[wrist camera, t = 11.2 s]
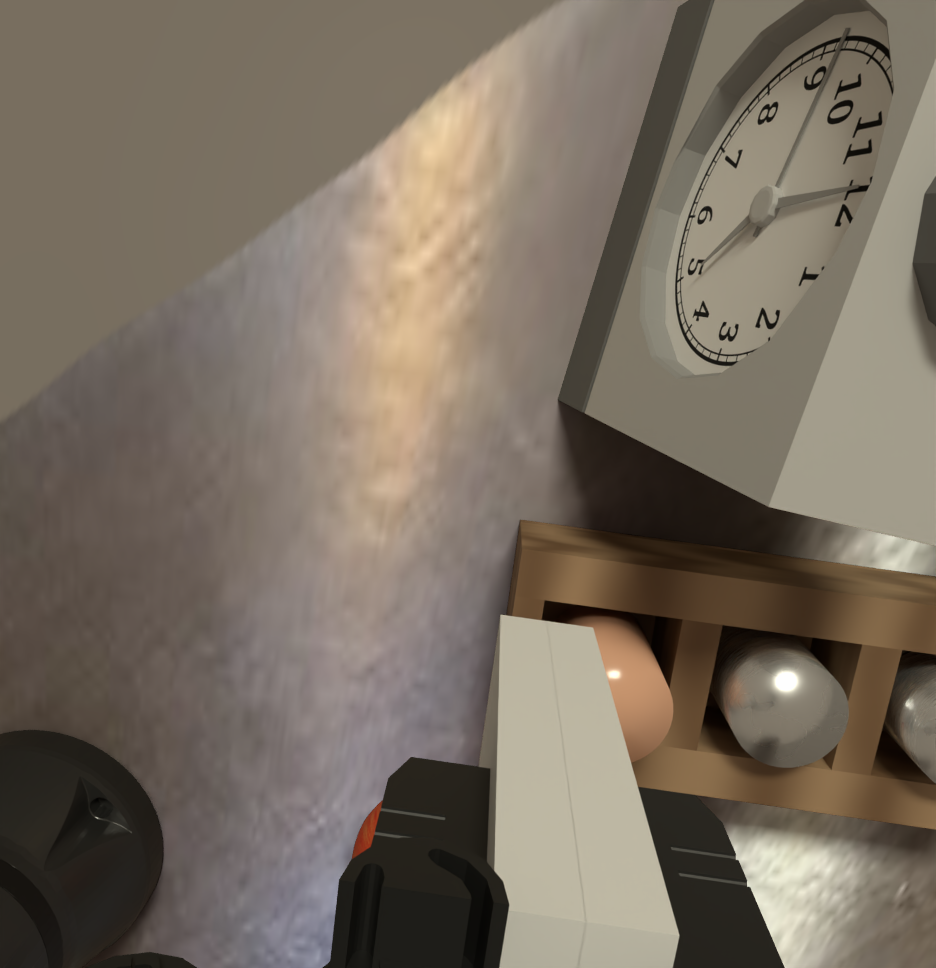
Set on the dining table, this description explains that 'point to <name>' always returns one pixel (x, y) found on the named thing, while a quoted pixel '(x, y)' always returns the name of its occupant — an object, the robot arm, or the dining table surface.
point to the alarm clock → (780, 262)
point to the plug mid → (777, 697)
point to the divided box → (761, 606)
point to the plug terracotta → (629, 676)
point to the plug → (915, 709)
